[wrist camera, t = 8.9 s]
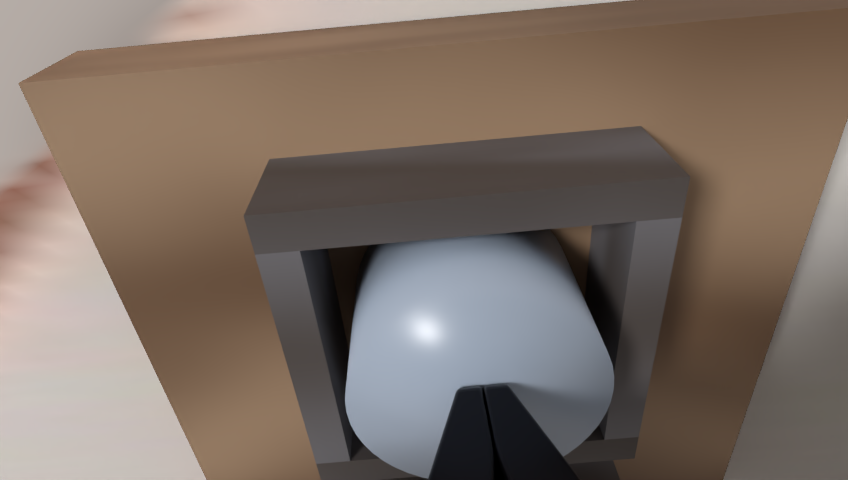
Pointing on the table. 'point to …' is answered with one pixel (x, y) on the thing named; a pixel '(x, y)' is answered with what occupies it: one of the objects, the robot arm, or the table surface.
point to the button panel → (457, 204)
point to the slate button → (470, 341)
